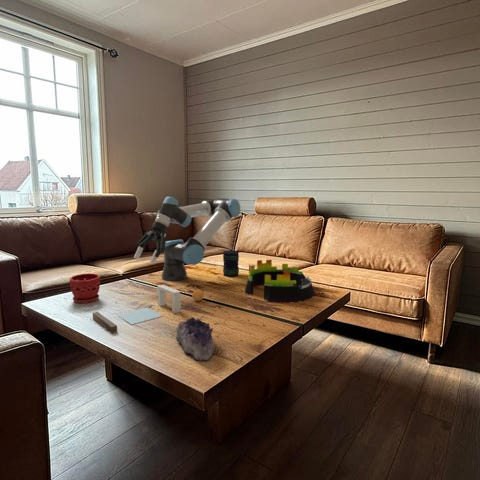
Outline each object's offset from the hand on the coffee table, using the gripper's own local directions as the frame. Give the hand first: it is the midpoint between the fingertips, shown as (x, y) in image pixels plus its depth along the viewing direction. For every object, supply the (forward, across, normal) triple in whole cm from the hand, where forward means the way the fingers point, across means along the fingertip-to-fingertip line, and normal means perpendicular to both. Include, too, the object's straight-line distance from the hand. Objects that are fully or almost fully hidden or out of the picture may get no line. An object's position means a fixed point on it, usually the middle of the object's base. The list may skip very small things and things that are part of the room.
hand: (143, 260), depth 175 cm
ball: (+7, +31, +14) cm, 35 cm away
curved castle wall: (-10, +54, +47) cm, 72 cm away
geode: (+28, +67, -16) cm, 74 cm away
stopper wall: (+33, +23, -22) cm, 46 cm away
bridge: (+18, +28, +2) cm, 34 cm away
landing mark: (+25, +26, -10) cm, 38 cm away
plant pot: (+28, -11, -12) cm, 33 cm away
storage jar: (-16, +12, +57) cm, 60 cm away
